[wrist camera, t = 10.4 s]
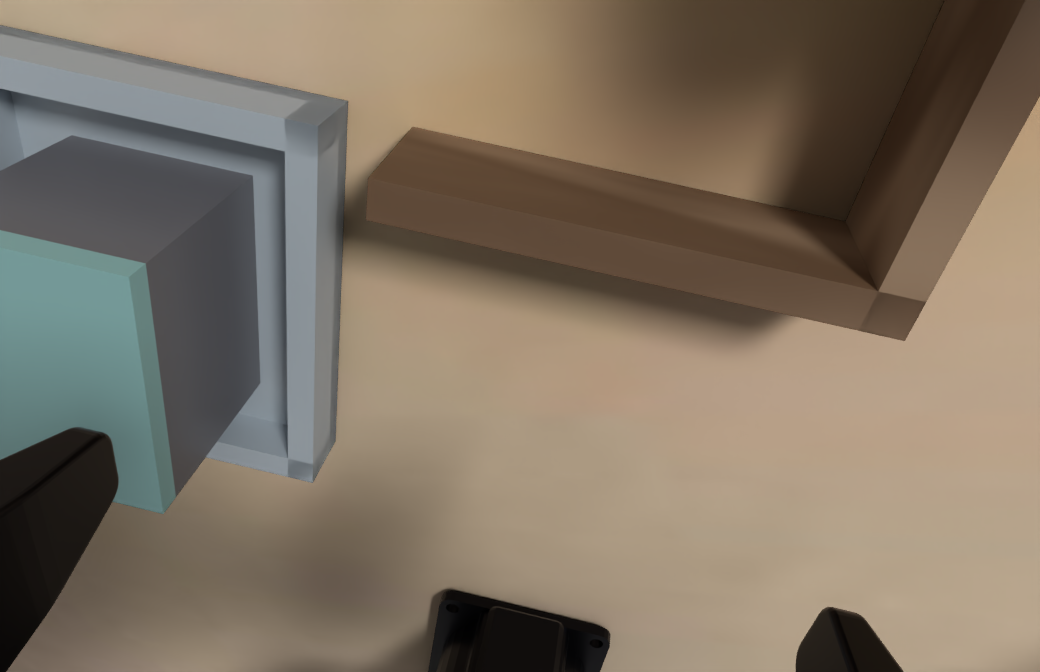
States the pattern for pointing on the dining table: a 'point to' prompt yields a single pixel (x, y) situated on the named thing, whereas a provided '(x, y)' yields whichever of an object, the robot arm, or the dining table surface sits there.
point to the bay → (751, 225)
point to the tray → (277, 206)
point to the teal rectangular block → (126, 307)
